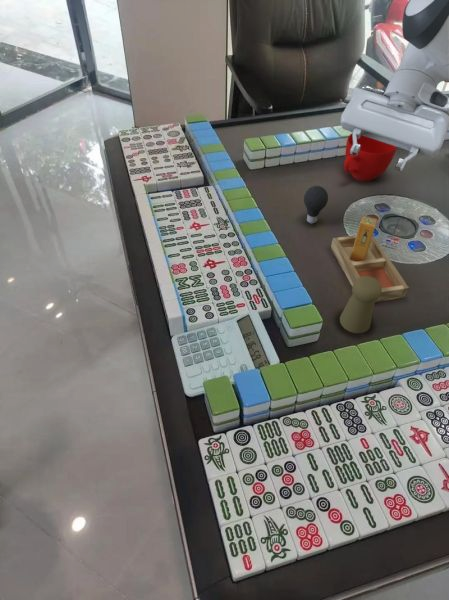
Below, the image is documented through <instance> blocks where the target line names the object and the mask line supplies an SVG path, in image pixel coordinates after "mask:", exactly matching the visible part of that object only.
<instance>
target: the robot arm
mask: <svg viewBox="0 0 449 600" xmlns="http://www.w3.org/2000/svg"><path fill="white" fill-rule="evenodd" d="M402 14H403V15H402V22H401V23H402V25H401V27H402V37H403V39H404V40H406V41H407V42H408V43H407V45H406V47H405V49H404V50H403V53H402V55H401V59H400V63H399V66H398V67H397V68H396V69H395V71H394V72H393V74H392V76H391V78H390V80H389V81H388V84H387V86H386V89H382V88H378V87H374V86H371V85H369V84H363V85H359V86H356V87H355V88H354V89H353V91H352V93H351V94H350V97H349V101H348V104H347V105H346V107H345V108H344V110H343V112H342V114H341V116H340V125H341V128H342V129H343V130H345V131H348V132H350V133H353V146H352V148H351V150H350V154H353V155H356V156H357V155H358V152H359V151H360V148H361V145H359V144H357V139H359V138H360V136H361V135H363V136H366V137H369V138H372V139H375V140H378V141H381V142H384V143H387V144H390V145H393V146H396V147H397V148H399V149H402V150H405V151H408V156H406V157H404V158H398V161H397V162H396V165H395V167H394V170H397V171H399V172H403V170H404V169H405V167H406V165H407V164H409V163H411V162H412V161H413V160H415V159H416V157H417V155H420V156H424V157H426V158H428V159H429V158H430V159H432V158H434V157H436V156H438V155H439V152H440V151H441V149H442V146H443V144H444V142H445V139H446V136H447V133H448V130H449V96H448V95H446V94H445V93H444V92H442V91H441V90H440V89H438V85H439V84H440V83H443V82H444V83H449V0H408V2H407V3H406V5H405V8H404V10H403V13H402Z"/></svg>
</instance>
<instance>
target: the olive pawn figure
mask: <svg viewBox="0 0 449 600" xmlns="http://www.w3.org/2000/svg"><path fill="white" fill-rule="evenodd" d="M381 292H382V287H381V284H380V283H379V281H378V280H377V279H375V278H373V277H370V276H362V277H360V278H358V279H356V280H355V282H354V283H353V286H352V285H351V293H352V294H351V295H350V298H349V299H348V301H347V304H346V305H345V307H344V309H343V310H342V312H341V313H340V316H339V323H340V325H341V327H343V329H344V330H346V331H348V332H350V333H352V334H363V333H366V332H368V331H369V330H370V329H371V324H372V319H373V314H374V310H375V303H376V302H375V301H376V300H377V299H378V298H379V297H380V295H381Z"/></svg>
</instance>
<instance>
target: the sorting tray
mask: <svg viewBox="0 0 449 600" xmlns="http://www.w3.org/2000/svg"><path fill="white" fill-rule="evenodd" d="M356 235H357V234H354V235H347V236H338V237H333V238H332V240H331V245H330V250H331V251H332V254H333V255H334V257H335V259H336V260H337V262H338V264H339V266H340V267H341V269H342V271H343V273H344V274H345V277H346V278H347V280H348V282H349V284H350V285H351V287H352V286H353V283H354V282H355V280H356V279H358V278H360V277H362V276H370V277H373V278H375V279H377V280H378V281H379V283H380V284H381V287H382V292H381V295H380V297H379V298H378V299H377V300H376V301H375V303H379V302H386V301H391V300H399V299H404V298H406V296H407V293H408V291H409V285H408V284H407V282H406V281H405V279H404V278H403V277H402V275H401V274H400V272H399V270H398V269H397V268H396V267H395V265H394V263H393V262H392V261H391V259H390V258H389V256H388V255H387V253H386V252H385V250H384V249H383V247H382V246H381V245H380V243H379V242H378V240H377V239H376V237H375V235H373V236H372V239H371V242H370V245H369V248H368V252H367V255H366V258H365V261H356V260H351V259H350V256H351V253H352V249H353V246H354V242H355V239H356Z"/></svg>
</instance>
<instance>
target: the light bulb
mask: <svg viewBox="0 0 449 600" xmlns="http://www.w3.org/2000/svg"><path fill="white" fill-rule="evenodd" d="M328 201H329V195H328V191H327V190H326V189H325V188H324V187H322V186H320V185H313V186H311V187H309V188H308V189H307V190H306V191H305V193H304V195H303V202H304V203H303V204H304V205H305V208H306V213H307V215H306V216H307V217H306V221H307V222H308V223H309V224H311V225H313V224H314V223H317V221H318V217H319V215H320V213H321V211H322V210H323V209H324V208H325V207H326V206H327V204H328Z"/></svg>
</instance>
